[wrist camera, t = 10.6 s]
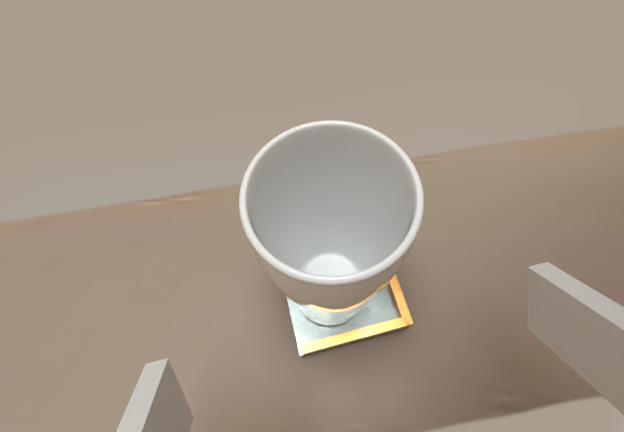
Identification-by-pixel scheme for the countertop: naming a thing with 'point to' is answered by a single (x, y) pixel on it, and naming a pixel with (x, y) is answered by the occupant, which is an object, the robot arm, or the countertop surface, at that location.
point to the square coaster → (353, 322)
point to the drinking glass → (331, 215)
